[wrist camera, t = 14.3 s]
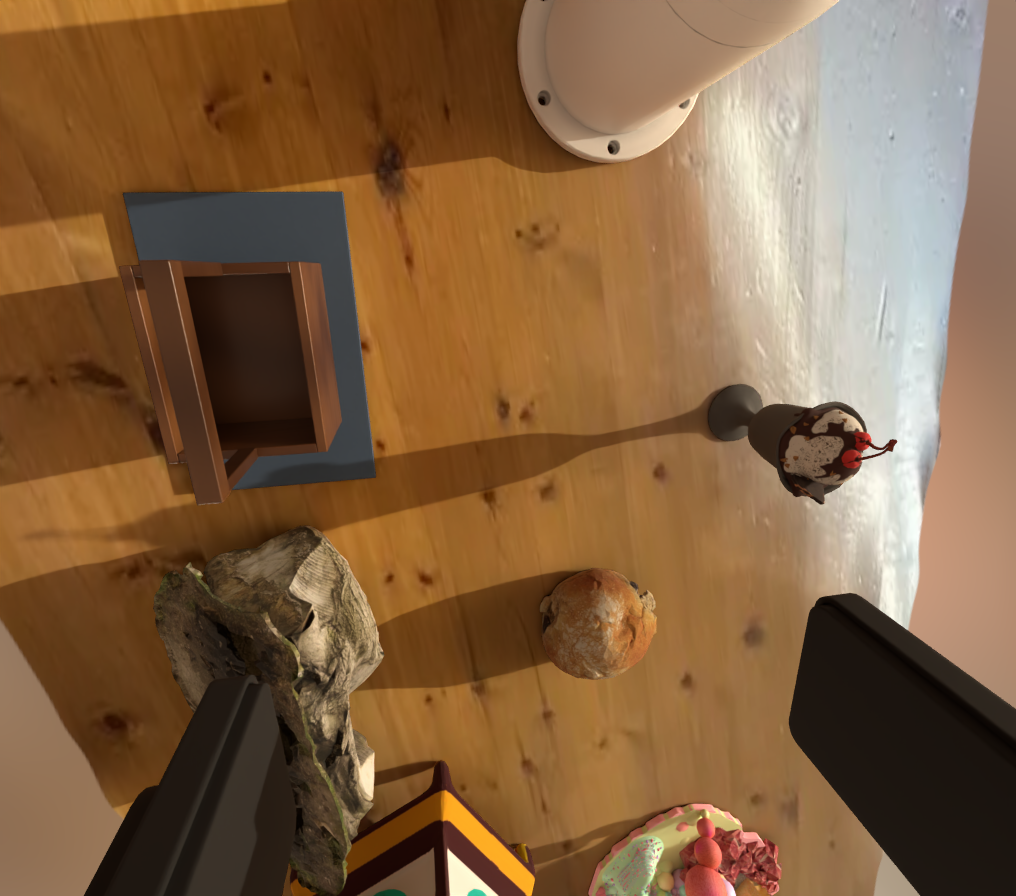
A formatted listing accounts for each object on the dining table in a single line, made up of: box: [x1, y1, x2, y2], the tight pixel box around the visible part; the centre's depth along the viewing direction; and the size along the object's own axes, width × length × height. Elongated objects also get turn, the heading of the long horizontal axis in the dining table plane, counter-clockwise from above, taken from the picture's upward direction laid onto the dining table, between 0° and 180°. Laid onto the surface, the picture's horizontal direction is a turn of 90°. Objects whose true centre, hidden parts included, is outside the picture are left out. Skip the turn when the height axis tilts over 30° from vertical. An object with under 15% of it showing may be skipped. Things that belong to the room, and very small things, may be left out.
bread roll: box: [540, 568, 657, 680], centre depth 46 cm, size 10×10×8 cm
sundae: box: [709, 384, 897, 504], centre depth 37 cm, size 7×7×15 cm
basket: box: [119, 260, 342, 505], centre depth 30 cm, size 11×9×14 cm
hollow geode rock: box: [153, 526, 384, 896], centre depth 40 cm, size 28×13×15 cm
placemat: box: [123, 192, 376, 490], centre depth 36 cm, size 20×13×1 cm, turn 1°
